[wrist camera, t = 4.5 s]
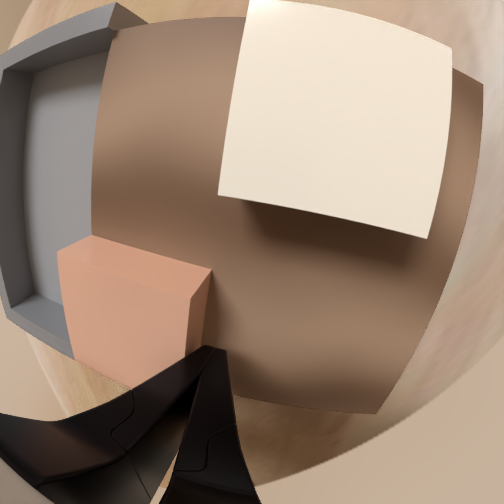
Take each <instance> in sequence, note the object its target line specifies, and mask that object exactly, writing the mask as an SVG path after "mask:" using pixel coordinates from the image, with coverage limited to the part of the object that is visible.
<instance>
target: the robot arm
mask: <svg viewBox="0 0 504 504" xmlns="http://www.w3.org/2000/svg"><path fill="white" fill-rule="evenodd" d="M178 450H179V451H178ZM177 452H178V454H177ZM176 454H177V458H176V461H175V465H174V469H173V472H172V476H171V479H170V482H169V485H168V487H167V489H166V491H165V493H164V495H163V497H162V498H161V501H160V502H159V504H261V502H260V500H259V498H258V495H257V493H256V491H255V488H254V485H253V482H252V480H251V477H250V474H249V472H248V469H247V466H246V463H245V460H244V457H243V453H242V450H241V446H240V441H239V436H238V430H237V425H236V417H235V410H234V403H233V396H232V388H231V380H230V372H229V364H228V356H227V351H226V350H225V349H221V348H217V347H216V348H215V347H213V346H210V345H203V346H201V347H200V348H198V349H196V350H195V351H193V352H192V353H190V354H189V355H187V356H185V357H184V358H182V359H181V360H179V361H177V362H176V363H174V364H173V365H171V366H169V367H168V368H166V369H164V370H163V371H161V372H160V373H158V374H156V375H155V376H153V377H151V378H150V379H148V380H146V381H145V382H143V383H141V384H139V385H138V386H136V387H134V388H133V389H132V390H129V391H127V392H126V393H124V394H122V395H120V396H118V397H116V398H115V399H113V400H111V401H109V402H106V403H104V404H102V405H100V406H97V407H95V408H92V409H90V410H87V411H85V412H82V413H79V414H77V415H74V416H71V417H69V418H66V419H63V420H58V421H40V420H33V419H28V418H22V417H16V416H12V415H7V414H2V413H0V504H150V502H151V500H152V498H153V496H154V495H155V493H156V491H157V489H158V487H159V485H160V484H161V482H162V480H163V478H164V476H165V474H166V472H167V471H168V469H169V467H170V465H171V463H172V461H173V459H174V457H175V456H176Z"/></svg>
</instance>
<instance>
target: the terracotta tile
mask: <svg viewBox="0 0 504 504" xmlns="http://www.w3.org/2000/svg"><path fill="white" fill-rule="evenodd" d="M57 260H58V270H59V279H60V287H61V294H62V301H63V307H64V313H65V318H66V323H67V328H68V333H69V338H70V342H71V346H72V350H73V354H74V358H75V360H76V361H77V362H79V363H81V364H83V365H85V366H86V367H88V368H90V369H92V370H94V371H96V372H98V373H100V374H102V375H104V376H106V377H108V378H110V379H112V380H114V381H116V382H118V383H120V384H123V385H125V386H127V387H129V388H131V389H133V388H134V387H136V386H138V385H139V384H141V383H143V382H145V381H146V380H148V379H150V378H151V377H153V376H155V375H156V374H158V373H160V372H161V371H163V370H164V369H166V368H168V367H169V366H171V365H173V364H174V363H176V362H177V361H179V360H181V359H182V358H184V357H185V356H187V355H189V354H190V353H192V352H193V351H195V350H196V349H198V348H200V346H201V338H202V331H203V324H204V317H205V310H206V304H207V297H208V291H209V284H210V278H211V272H212V269H208V268H205V267H201V266H197V265H194V264H190V263H186V262H183V261H179V260H176V259H172V258H169V257H165V256H162V255H158V254H155V253H151V252H148V251H144V250H141V249H137V248H134V247H131V246H127V245H124V244H121V243H117V242H114V241H111V240H107V239H104V238H101V237H97V236H94V235H90V236H88V237H86V238H84V239H82V240H80V241H78V242H75V243H73V244H71V245H69V246H67V247H65V248H63V249H61V250H59V251H58V252H57Z"/></svg>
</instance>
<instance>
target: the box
mask: <svg viewBox="0 0 504 504" xmlns="http://www.w3.org/2000/svg"><path fill="white" fill-rule="evenodd" d="M146 24H148V23H147V22H146V21H144V20H143V19H141V18H140V17H138V16H137V15H135V14H134V13H132V12H131V11H129V10H128V9H126V8H125V7H123V6H122V5H120V4H118V3H117V2H114V3H111V4H108V5H105V6H101V7H99V8H96V9H93V10H90V11H87V12H85V13H82V14H79V15H77V16H74V17H72V18H70V19H67V20H65V21H63V22H60V23H58V24H56V25H54V26H52V27H50V28H48V29H45V30H43V31H42V32H40V33H38V34H36V35H34V36H32V37H30V38H28V39H27V40H25V41H23V42H21V43H20V44H18V45H16V46H14V47H13V48H11V49H10V50H8V51H6V52H5V53H3V54H2V55H0V296H1V300H2V304H3V307H4V310H5V313H6V316H7V318H8V319H9V320H10V321H12V322H13V323H15V324H16V325H17V326H19V327H20V328H22V329H23V330H25V331H26V332H28V333H29V334H31V335H33V336H34V337H36V338H37V339H39V340H40V341H42V342H44V343H45V344H47V345H49V346H50V347H52V348H54V349H56V350H57V351H59V352H61V353H63V354H64V355H66V356H68V357H70V358H72V359H74V360H75V358H74V354H73V350H72V346H71V342H70V338H69V333H68V328H67V323H66V318H65V313H64V307H63V301H62V294H61V287H60V279H59V270H58V260H57V252H58V251H59V250H61V249H63V248H65V247H67V246H69V245H71V244H73V243H75V242H78V241H80V240H82V239H84V238H86V237H88V236H90V235H92V231H91V180H92V161H93V148H94V137H95V128H96V120H97V112H98V106H99V99H100V93H101V88H102V83H103V78H104V73H105V68H106V64H107V59H108V55H109V51H110V47H111V43H112V40H113V36H114V33H115V31H117V30H121V29H125V28H130V27H135V26H140V25H146ZM75 361H76V360H75Z"/></svg>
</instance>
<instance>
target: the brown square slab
mask: <svg viewBox="0 0 504 504" xmlns="http://www.w3.org/2000/svg"><path fill="white" fill-rule="evenodd" d="M245 22H246V17H212V18H194V19H183V20H173V21H165V22H158V23H152V24H146V25H140V26H135V27H130V28H125V29H121V30H117V31H115V33H114V36H113V40H112V43H111V47H110V51H109V55H108V59H107V64H106V68H105V73H104V78H103V83H102V88H101V93H100V99H99V106H98V112H97V120H96V128H95V137H94V148H93V161H92V180H91V231H92V235H94V236H97V237H101V238H104V239H107V240H111V241H114V242H117V243H121V244H124V245H127V246H131V247H134V248H137V249H141V250H144V251H148V252H151V253H155V254H158V255H162V256H165V257H169V258H172V259H176V260H179V261H183V262H186V263H190V264H194V265H197V266H201V267H205V268H208V269H212V272H211V278H210V284H209V291H208V297H207V304H206V310H205V317H204V324H203V331H202V338H201V346H203V345H210V346H213V347H215V348H216V347H217V348H221V349H225V350H226V351H227V356H228V364H229V372H230V380H231V388H232V394H233V395H237V396H241V397H246V398H251V399H255V400H260V401H265V402H271V403H276V404H282V405H288V406H295V407H301V408H309V409H317V410H325V411H335V412H347V413H362V414H376V413H377V412H378V410H379V409H380V407H381V406H382V404H383V403H384V401H385V400H386V398H387V397H388V395H389V394H390V392H391V391H392V389H393V388H394V386H395V384H396V383H397V381H398V380H399V378H400V376H401V375H402V373H403V371H404V369H405V368H406V366H407V364H408V362H409V361H410V359H411V357H412V355H413V353H414V352H415V350H416V348H417V346H418V344H419V342H420V340H421V338H422V336H423V334H424V332H425V330H426V328H427V326H428V324H429V322H430V320H431V317H432V315H433V313H434V311H435V308H436V306H437V304H438V302H439V299H440V297H441V294H442V292H443V289H444V287H445V284H446V282H447V279H448V276H449V274H450V271H451V268H452V265H453V262H454V259H455V256H456V253H457V250H458V247H459V244H460V240H461V237H462V234H463V230H464V226H465V223H466V219H467V215H468V211H469V207H470V202H471V198H472V193H473V188H474V183H475V177H476V171H477V165H478V158H479V151H480V142H481V131H482V117H483V84H481V83H480V82H478V81H476V80H475V79H473V78H471V77H469V76H467V75H465V74H464V73H462V72H460V71H458V70H456V69H454V68H452V97H451V113H450V124H449V133H448V142H447V149H446V156H445V162H444V168H443V174H442V179H441V184H440V189H439V194H438V198H437V203H436V207H435V211H434V215H433V219H432V223H431V226H430V230H429V234H428V237H427V239H425V238H421V237H418V236H414V235H410V234H406V233H402V232H398V231H394V230H390V229H386V228H382V227H378V226H374V225H369V224H365V223H361V222H356V221H352V220H347V219H343V218H338V217H334V216H329V215H324V214H319V213H315V212H310V211H305V210H300V209H295V208H289V207H284V206H279V205H273V204H268V203H262V202H257V201H251V200H245V199H239V198H233V197H227V196H221V195H218V188H219V180H220V173H221V165H222V158H223V151H224V144H225V137H226V130H227V123H228V117H229V110H230V104H231V98H232V92H233V86H234V80H235V75H236V69H237V63H238V58H239V53H240V47H241V42H242V37H243V32H244V27H245ZM201 346H200V347H201Z"/></svg>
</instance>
